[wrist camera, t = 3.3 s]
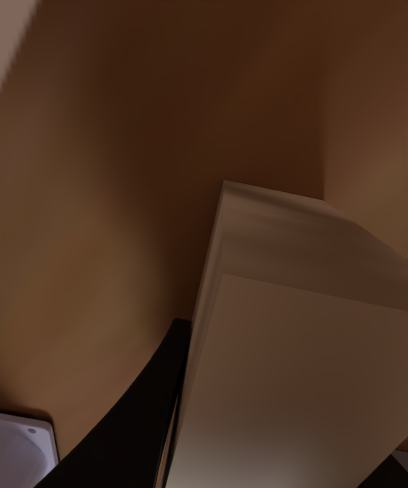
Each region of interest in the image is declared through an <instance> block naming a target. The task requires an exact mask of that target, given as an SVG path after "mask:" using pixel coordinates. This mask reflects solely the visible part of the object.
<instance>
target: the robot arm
mask: <svg viewBox="0 0 408 488" xmlns="http://www.w3.org/2000/svg"><path fill="white" fill-rule="evenodd" d="M191 324H192V321H188V320H183V319H177V318H176V319H174V320H173V322H172V324H171V326H170V328H169V330H168V332H167V334H166V336H165V338H164V339H163V341H162V342H161V344H160V346H159V347H158V349H157V350H156V352H155V353H154V355H153V356H152V358H151V359H150V361H149V362H148V363H147V365H146V366H145V368H144V369H143V370H142V371H141V373H140V374H139V375H138V377H137V378H136V379H135V381H134V382H133V383H132V385H131V386H130V387H129V388H128V390H127V391H126V392H125V393H124V394H123V396H122V397H121V398H120V399H119V400H118V401H117V403H116V404H115V405H114V406H113V407H112V408H111V409H110V411H109V412H108V413H107V414H106V415H105V416H104V417H103V418H102V420H101V421H100V422H99V423H98V424H97V425H96V426H95V427H94V428H93V429H92V430H91V431H90V432H89V433H88V434H87V435H86V437H85V438H84V439H83V440H82V441H81V442H80V443H79V444H78V445H77V446H76V447H75V448H74V449H73V450H72V451H71V452H70V453H69V454H68V455H67V456H66V457H65V458H64V459H63V460H61V461H60V462H59V463H58V457H57V452H56V446H55V441H54V435H53V429H52V426H51V424H50V423H48V422H46V421H41V420H36V419H30V418H25V417H19V416H13V415H8V414H2V413H0V488H155V487H156V481H157V476H158V471H159V466H160V462H161V458H162V453H163V450H164V446H165V442H166V438H167V434H168V430H169V427H170V423H171V419H172V415H173V411H174V407H175V404H176V400H177V396H178V392H179V388H180V383H181V378H182V373H183V368H184V363H185V358H186V352H187V347H188V342H189V337H190V331H191ZM357 488H408V472H407V470H406V469H405V468H404V467H403V466H402V465H401V464H400V463H399V462H398V461H397V460H396V459H395V457H394V456H393V455H392V454H390V455H389V456H388V457H387V458H386V459H385V460H384V461H383V462H382V463H381V464H380V465H379V466H378V467H377V468H376V469H375V470H374V471H373V472H372V473H371V474H370V475H369V476H368V477H367V478H366V479H365V480H364V481H363V482H362V483H361V484H360V485H359V486H358V487H357Z"/></svg>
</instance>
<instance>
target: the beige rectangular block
mask: <svg viewBox="0 0 408 488" xmlns="http://www.w3.org/2000/svg"><path fill="white" fill-rule="evenodd" d="M407 437H408V260H407V259H406V258H405V257H403V256H402V255H400V254H399V253H398V252H396V251H395V250H393V249H392V248H390V247H389V246H388V245H386V244H385V243H383V242H382V241H381V240H379V239H378V238H376V237H375V236H373V235H372V234H371V233H369V232H368V231H366V230H365V229H364V228H362V227H361V226H359V225H358V224H357V223H355V222H354V221H352V220H351V219H349V218H348V217H347V216H345V215H344V214H342V213H341V212H340V211H338V210H337V209H335V208H334V207H332V206H331V205H330V204H328V203H327V202H325V201H324V200H319V199H314V198H309V197H305V196H300V195H295V194H291V193H286V192H281V191H277V190H272V189H267V188H262V187H258V186H253V185H248V184H244V183H239V182H234V181H229V180H225V179H224V180H223V184H222V189H221V193H220V198H219V202H218V206H217V211H216V215H215V220H214V224H213V229H212V233H211V237H210V242H209V246H208V251H207V255H206V260H205V264H204V268H203V273H202V277H201V282H200V286H199V291H198V295H197V299H196V304H195V308H194V313H193V317H192V324H191V331H190V337H189V342H188V347H187V352H186V358H185V363H184V368H183V373H182V378H181V383H180V388H179V392H178V396H177V400H176V404H175V407H174V411H173V415H172V419H171V423H170V427H169V430H168V435H167V440H166V446H165V451H164V456H163V462H162V467H161V473H160V478H159V483H158V488H357V487H358V486H359V485H360V484H361V483H362V482H363V481H364V480H365V479H366V478H367V477H368V476H369V475H370V474H371V473H372V472H373V471H374V470H375V469H376V468H377V467H378V466H379V465H380V464H381V463H382V462H383V461H384V460H385V459H386V458H387V457H388V456H389V455H390V454H391V453H392V452H393V451H394V450H395V449H396V448H397V447H398V446H399V445H400V444H401V443H402V442H403V441H404V440H405V439H406V438H407Z"/></svg>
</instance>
